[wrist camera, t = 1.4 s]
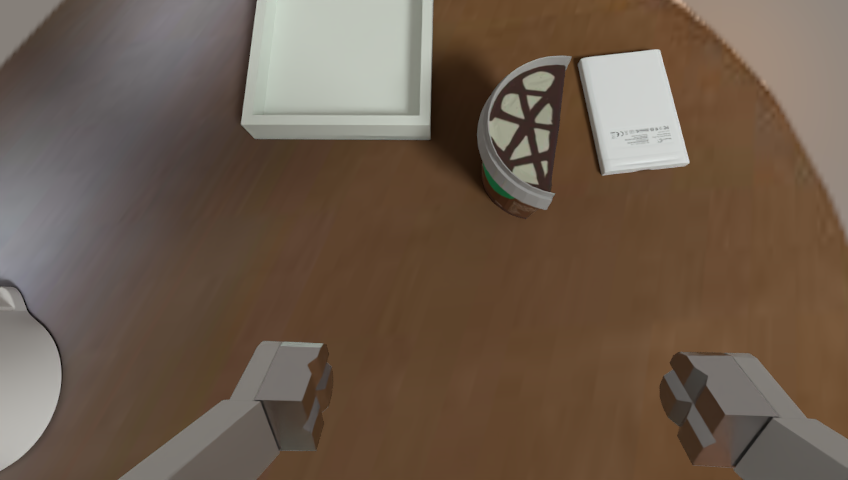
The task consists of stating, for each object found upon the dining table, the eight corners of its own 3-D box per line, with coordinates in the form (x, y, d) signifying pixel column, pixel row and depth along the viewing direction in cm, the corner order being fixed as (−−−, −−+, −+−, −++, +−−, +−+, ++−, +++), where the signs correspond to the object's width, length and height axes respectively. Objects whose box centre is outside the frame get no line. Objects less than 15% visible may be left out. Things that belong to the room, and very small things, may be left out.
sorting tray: (254, 139, 41) (240, 124, 38) (278, -54, 46) (267, -80, 43) (430, 140, 40) (429, 125, 37) (434, -56, 45) (434, -82, 42)
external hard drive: (652, 58, 42) (681, 168, 39) (575, 67, 42) (599, 177, 39) (661, 48, 40) (692, 161, 38) (580, 57, 40) (605, 171, 38)
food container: (479, 108, 41) (492, 39, 31) (539, 117, 40) (572, 50, 30) (459, 223, 38) (467, 187, 28) (523, 233, 38) (554, 201, 28)
